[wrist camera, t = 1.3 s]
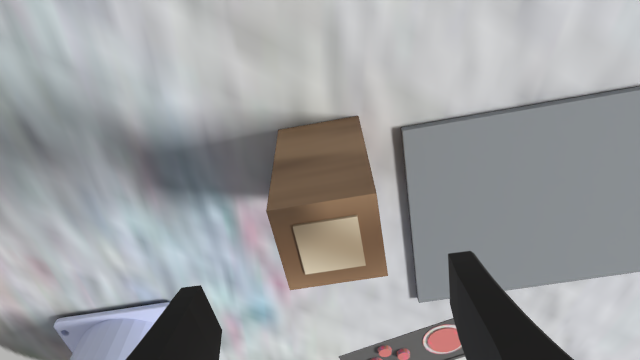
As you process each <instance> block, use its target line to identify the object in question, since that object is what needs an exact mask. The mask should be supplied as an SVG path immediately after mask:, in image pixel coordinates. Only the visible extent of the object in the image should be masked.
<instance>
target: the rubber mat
mask: <svg viewBox="0 0 640 360" xmlns="http://www.w3.org/2000/svg"><path fill="white" fill-rule="evenodd" d="M401 132H402V142H403V153H404V163H405V173H406V184H407V194H408V204H409V215H410V225H411V236H412V246H413V256H414V267H415V277H416V287H417V298H418V302H419V303H421V302H428V301H435V300H443V299H450V290H449V267H448V254H449V253H457V252H465V251H472V252H473V253H474V254H475V255H476V256H477V258H478V259H479V261H480V262H481V263H482V265H483V266H484V267H485V268H486V270H487V271H488V272H489V274H490V275H491V276H492V277H493V278H494V280H495V281H496V282H497V283H498V284H499V286H500V287H501V288H502V289H503V290H504V291H506V290H513V289H520V288H528V287H535V286H542V285H549V284H556V283H563V282H570V281H577V280H584V279H591V278H598V277H606V276H613V275H620V274H627V273H634V272H640V86H639V87H633V88H627V89H622V90H616V91H610V92H604V93H598V94H593V95H587V96H581V97H575V98H569V99H564V100H558V101H552V102H546V103H540V104H535V105H529V106H523V107H517V108H512V109H506V110H500V111H494V112H488V113H483V114H477V115H471V116H465V117H459V118H454V119H448V120H442V121H436V122H430V123H425V124H419V125H413V126H407V127H401Z"/></svg>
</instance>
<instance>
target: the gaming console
mask: <svg viewBox="0 0 640 360" xmlns="http://www.w3.org/2000/svg"><path fill="white" fill-rule="evenodd" d="M339 358H340V360H466V357H465V354H464V351H463V349H462V346H461V343H460V340H459V337H458V333H457V329H456V326H455V322H454V318H453V319H450V320H447V321H444V322H441V323H438V324H435V325H432V326H429V327H426V328H423V329H420V330H417V331H414V332H411V333H408V334H405V335H402V336H399V337H396V338H393V339H390V340H387V341H384V342H381V343H378V344H375V345H372V346H369V347H366V348H363V349H360V350H357V351H354V352H351V353H348V354H345V355H342V356H339Z"/></svg>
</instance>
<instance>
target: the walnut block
mask: <svg viewBox="0 0 640 360" xmlns="http://www.w3.org/2000/svg"><path fill="white" fill-rule="evenodd" d="M266 211H267V215H268V218H269V221H270V225H271V228H272V231H273V235H274V238H275V241H276V245H277V248H278V251H279V255H280V258H281V261H282V265H283V268H284V271H285V275H286V278H287V281H288V285H289V288H290V290H294V289H301V288H308V287H315V286H322V285H328V284H335V283H342V282H349V281H356V280H362V279H369V278H376V277H383V276H388V273H387V266H386V259H385V251H384V244H383V237H382V230H381V223H380V216H379V208H378V201H377V194H376V189H375V185H374V181H373V177H372V172H371V168H370V164H369V159H368V155H367V151H366V147H365V142H364V138H363V134H362V129H361V125H360V121H359V117H358V116H354V117H348V118H343V119H337V120H331V121H326V122H320V123H314V124H309V125H303V126H297V127H292V128H286V129H280V130H278V136H277V143H276V150H275V156H274V163H273V170H272V177H271V183H270V190H269V197H268V203H267V210H266Z"/></svg>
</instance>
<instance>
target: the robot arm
mask: <svg viewBox="0 0 640 360" xmlns="http://www.w3.org/2000/svg"><path fill="white" fill-rule="evenodd" d="M448 267H449V290H450V305H451V309H452V313H453V318H454V322H455V326H456V329H457V333H458V337H459V340H460V343H461V346H462V349H463V351H464V354H465V357H466V360H574V359H572V358H571V357H570V356H569V355H568V354H567V353H566V352H564V351H563V350H562V349H561V348H560V347H559V346H558V345H557V344H556V343H554V342H553V341H552V340H551V339H550V338H549V337H548V336H547V335H546V334H545V333H544V332H543V331H542V330H541V329H540V328H539V327H538V326H537V325H536V324H535V323H534V322H533V321H532V320H531V319H530V318H529V317H528V316H527V315H526V314H525V313H524V312H523V311H522V310H521V309H520V308H519V307H518V306H517V305H516V303H515V302H514V301H513V300H512V299H511V298H510V297H509V296H508V295H507V294H506V292H505V291H504V290H503V289H502V288H501V287H500V286H499V284H498V283H497V282H496V281H495V280H494V278H493V277H492V276H491V275H490V274H489V272H488V271H487V270H486V268H485V267H484V266H483V265H482V263H481V262H480V261H479V259H478V258H477V256H476V255H475V254H474V253H473V252H472V251H465V252H457V253H449V254H448ZM54 328H55V330H56V331H57V333H58V334H59V335H60V337H61V338H62V339H63V341H64V342H65V344H66V345H67V346H68V348H69V349H70V350H71V352H72V353H73V354H72V356H71V358H70V360H219V354H220V345H221V335H222V329H221V327H220V325H219V323H218V320H217V318H216V316H215V314H214V312H213V310H212V308H211V306H210V304H209V302H208V299H207V297H206V295H205V293H204V291H203V289H202V287H201V285H200V286H192V287H185V288H181V289H180V290H179V292H178V293H177V294H176V295H175V297H174V298H173V299H172V301H171V302H170V303H169V302H166V303H159V304H152V305H145V306H139V307H132V308H125V309H118V310H112V311H105V312H98V313H91V314H84V315H78V316H71V317H64V318H59V319H57V320H56V322H55V323H54Z"/></svg>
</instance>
